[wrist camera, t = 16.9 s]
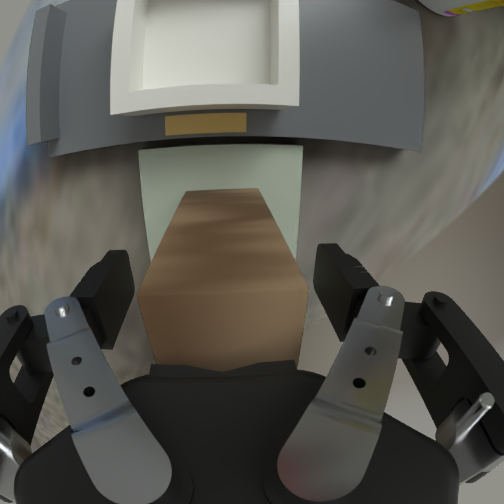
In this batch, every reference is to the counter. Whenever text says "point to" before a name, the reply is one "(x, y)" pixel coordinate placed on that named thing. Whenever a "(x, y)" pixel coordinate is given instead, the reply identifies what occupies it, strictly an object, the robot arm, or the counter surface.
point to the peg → (223, 285)
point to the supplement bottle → (459, 6)
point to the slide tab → (204, 55)
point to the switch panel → (237, 120)
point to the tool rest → (221, 180)
